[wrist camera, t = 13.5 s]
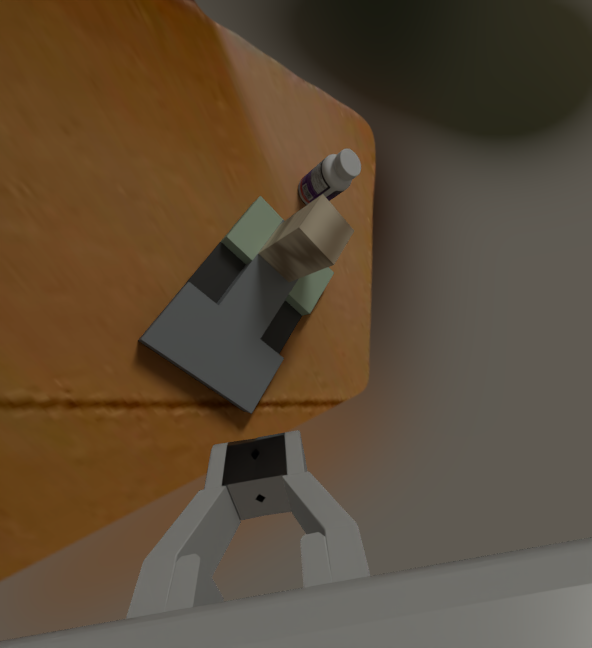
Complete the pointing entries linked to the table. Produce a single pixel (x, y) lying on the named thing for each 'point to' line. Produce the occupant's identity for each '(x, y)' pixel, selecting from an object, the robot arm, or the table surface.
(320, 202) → the birch block
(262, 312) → the board
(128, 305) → the table surface
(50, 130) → the table surface
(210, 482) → the robot arm
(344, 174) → the pill bottle
